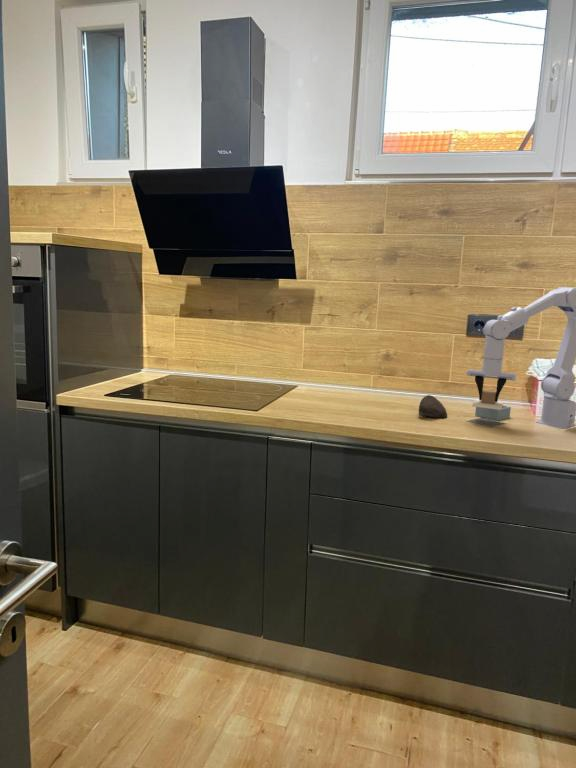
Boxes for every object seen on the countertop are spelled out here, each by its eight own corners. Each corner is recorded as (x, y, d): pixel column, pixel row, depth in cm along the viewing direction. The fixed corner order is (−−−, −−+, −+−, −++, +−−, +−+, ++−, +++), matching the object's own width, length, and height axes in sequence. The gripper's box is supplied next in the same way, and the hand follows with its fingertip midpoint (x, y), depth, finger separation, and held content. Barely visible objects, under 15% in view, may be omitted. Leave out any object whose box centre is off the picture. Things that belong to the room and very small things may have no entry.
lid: (503, 404, 184) (504, 391, 183) (501, 409, 176) (502, 396, 175) (475, 401, 187) (476, 388, 186) (472, 406, 179) (473, 393, 178)
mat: (506, 424, 182) (506, 423, 182) (491, 428, 176) (491, 427, 176) (481, 418, 188) (481, 417, 188) (465, 422, 183) (465, 421, 183)
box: (509, 418, 190) (510, 407, 190) (496, 421, 185) (497, 409, 185) (487, 413, 196) (489, 402, 196) (474, 416, 191) (476, 405, 191)
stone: (435, 424, 194) (416, 402, 195) (454, 410, 189) (434, 388, 190) (427, 435, 186) (406, 411, 187) (446, 420, 181) (425, 396, 182)
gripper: (518, 359, 179) (513, 401, 182) (470, 354, 185) (466, 395, 187) (517, 361, 173) (512, 405, 175) (467, 357, 178) (463, 399, 181)
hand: (488, 400), depth 181 cm, fingers closed on lid, 4 cm apart
